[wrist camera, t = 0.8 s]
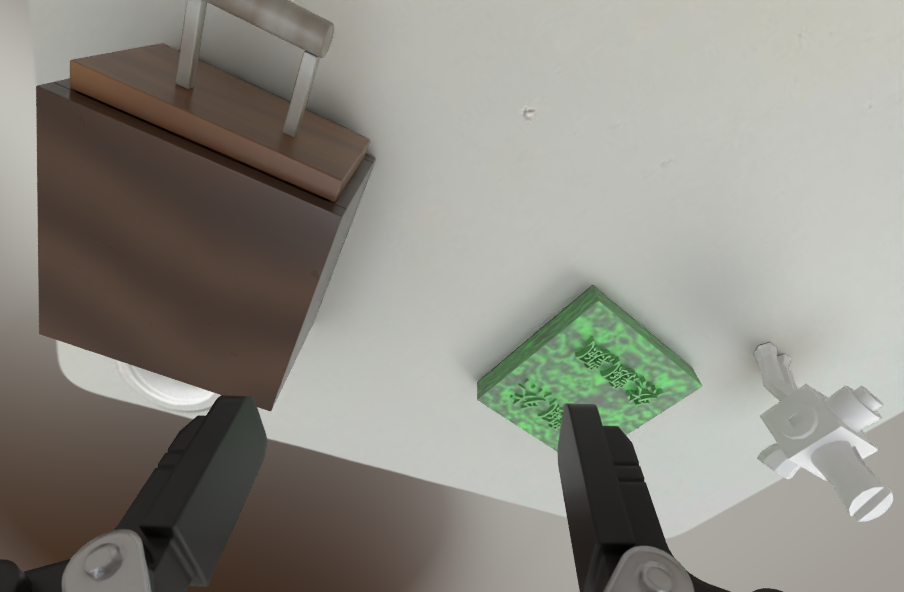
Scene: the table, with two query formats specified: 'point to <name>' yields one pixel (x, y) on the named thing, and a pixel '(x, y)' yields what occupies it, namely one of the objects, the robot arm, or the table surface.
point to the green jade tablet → (587, 371)
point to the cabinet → (177, 250)
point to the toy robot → (822, 435)
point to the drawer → (233, 98)
